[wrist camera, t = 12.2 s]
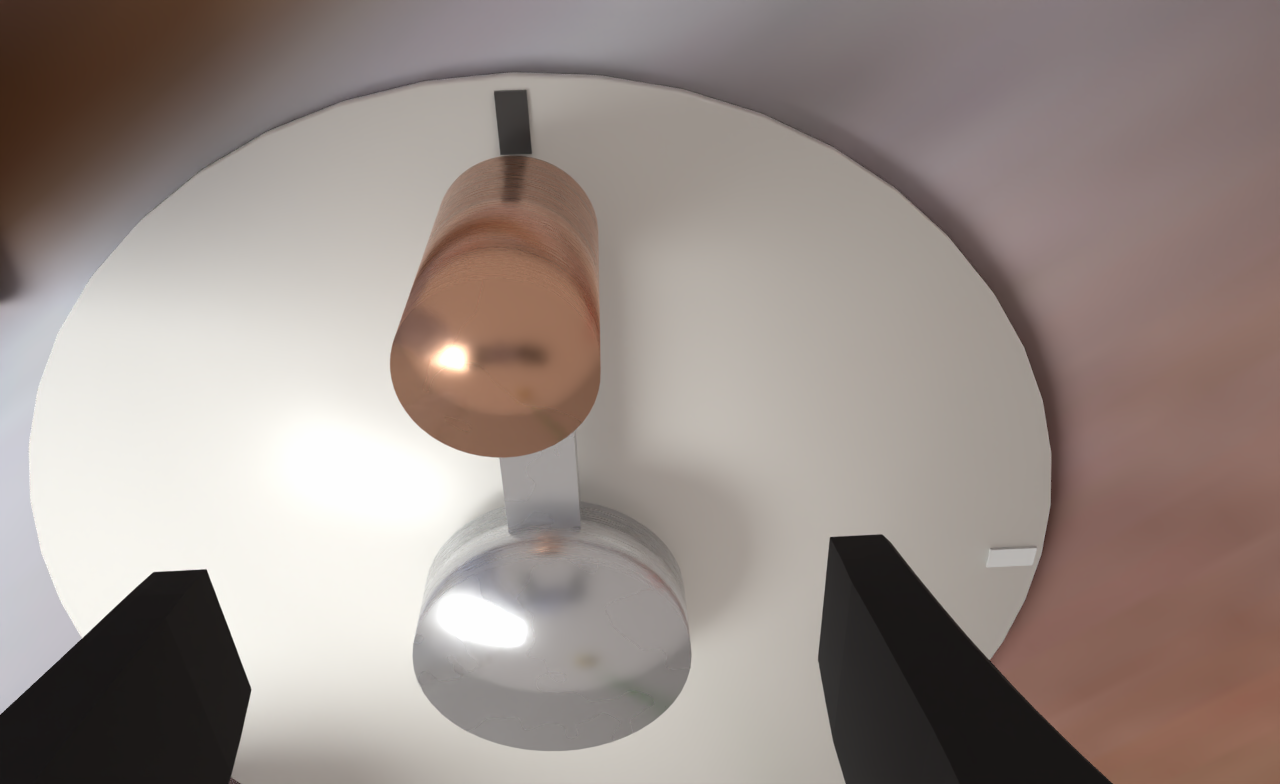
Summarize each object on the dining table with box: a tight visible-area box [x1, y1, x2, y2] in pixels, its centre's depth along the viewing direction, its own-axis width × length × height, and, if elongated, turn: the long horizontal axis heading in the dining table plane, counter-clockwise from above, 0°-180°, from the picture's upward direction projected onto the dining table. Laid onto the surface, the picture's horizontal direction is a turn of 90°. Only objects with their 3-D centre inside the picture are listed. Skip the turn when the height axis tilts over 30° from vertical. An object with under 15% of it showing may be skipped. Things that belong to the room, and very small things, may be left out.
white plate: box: [29, 72, 1051, 784], centre depth 25 cm, size 25×25×1 cm
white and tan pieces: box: [390, 155, 692, 751], centre depth 19 cm, size 15×6×6 cm, turn 1°
